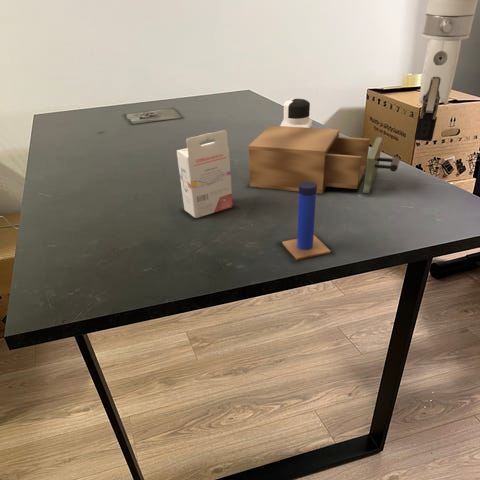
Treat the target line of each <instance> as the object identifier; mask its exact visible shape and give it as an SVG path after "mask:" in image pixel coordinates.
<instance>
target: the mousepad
mask: <svg viewBox="0 0 480 480" xmlns="http://www.w3.org/2000/svg"><path fill="white" fill-rule="evenodd" d="M125 116H126V118H127V120H129V121H130V123H131V124H132V125H136V124H143V123H151V122H160V121H168V120H175V119H182V116H181V115H180V114H179V113H178V112H177V111H176V110H175V108H173V107H172V108H163V109H154V110H148V111H147V110H146V111H140V112H139V111H138V112H132V113H125Z"/></svg>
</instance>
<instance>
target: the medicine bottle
mask: <svg viewBox="0 0 480 480" xmlns="http://www.w3.org/2000/svg"><path fill="white" fill-rule="evenodd" d="M310 109H311V103H310V101H309V100H308V99H305V98H291V99H288V100H286V101H284V103H283V119H282V121H281V123H280V125H279V126H287V127H304V128H313V126H314V125H313V124H314V123H313V122H314V119H313V118H310Z"/></svg>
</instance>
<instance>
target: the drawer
mask: <svg viewBox="0 0 480 480" xmlns="http://www.w3.org/2000/svg"><path fill="white" fill-rule="evenodd" d="M370 140H371V138H364V137H351V136H350V137H348V136H339V137H336V139H335V140H334V142H333V144H332V145H331V147H330V148H329V150H328V151H327V153H326V157H325V172H324V186H326V187H332V188H342V189H353V190H358V188H359V186H360V184H361V181H362V180H363V177H364V183H363V190H362V192H363V193H364V194H370V193H371V191H372V187H373V184H374V183H375V182H374V181H375V179H376V176H377V174H378V171H379V169H385V170H390V171H391V172H393V173H394V172H397V170H398V167H399V165H400V157H399V156H398V155H397V156H394V157H392V158H391V157H381V152H382V145H383V137H379V136H377V137H376V138H375V140H374V143H373V144H372V147H371V150H370V152H369V148H370ZM380 162H386V163H391V164H384V163H383V164H381V163H380ZM364 175H365V176H364Z"/></svg>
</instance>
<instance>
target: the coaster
mask: <svg viewBox="0 0 480 480" xmlns="http://www.w3.org/2000/svg"><path fill="white" fill-rule="evenodd" d="M281 244H282V245H283V246H284V247H285V249H286V250H287V251H288V253H290V254H291V256H293V258H294V259H295V260H296V261H300V260H305V259H309V258H314V257H319V256H324V255H327V254H331V251H332V250H330V249H329V248H328V247H327V246H326V245H325V244H324V243H323V242H322V241H321V240H320V238H318V237H317V236H316V235H315V234H314V236H313V247H312V248H311V249H309V250H302V249H299V248H298V247H297V238H293V239H288V240H284V241H283V240H282V242H281Z"/></svg>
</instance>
